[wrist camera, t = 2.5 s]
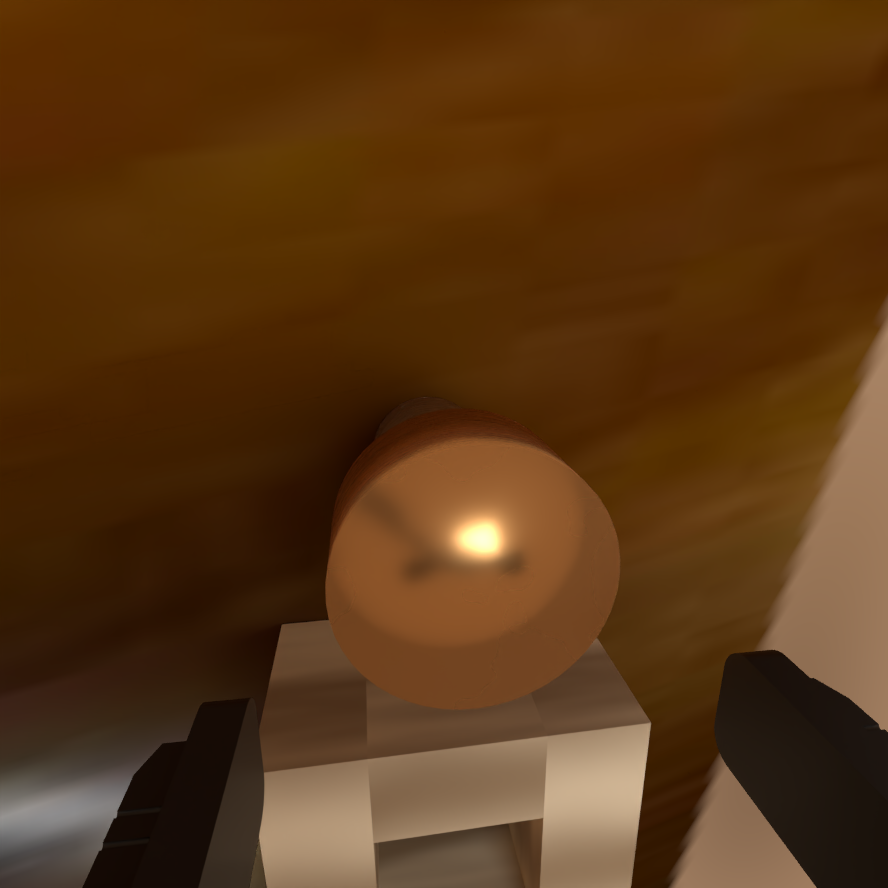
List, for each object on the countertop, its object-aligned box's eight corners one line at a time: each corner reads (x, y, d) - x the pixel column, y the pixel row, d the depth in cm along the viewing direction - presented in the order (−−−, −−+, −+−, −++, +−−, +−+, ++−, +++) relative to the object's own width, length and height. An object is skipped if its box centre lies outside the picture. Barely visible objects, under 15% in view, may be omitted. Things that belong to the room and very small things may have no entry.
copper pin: (334, 367, 20) (312, 455, 11) (512, 360, 21) (632, 436, 11) (346, 532, 22) (336, 725, 13) (508, 520, 22) (609, 692, 13)
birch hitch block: (281, 624, 22) (249, 774, 16) (570, 596, 24) (650, 722, 17) (308, 845, 26) (291, 1041, 19) (557, 808, 28) (619, 978, 21)
